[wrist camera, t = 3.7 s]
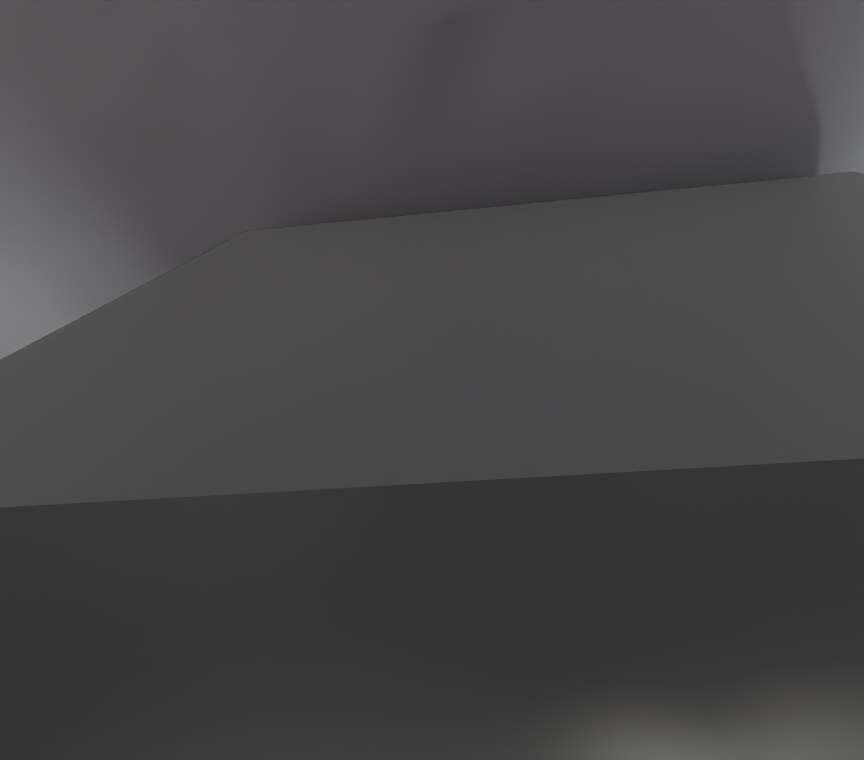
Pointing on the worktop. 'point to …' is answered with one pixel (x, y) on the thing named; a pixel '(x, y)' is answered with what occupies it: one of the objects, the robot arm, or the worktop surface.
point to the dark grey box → (453, 491)
